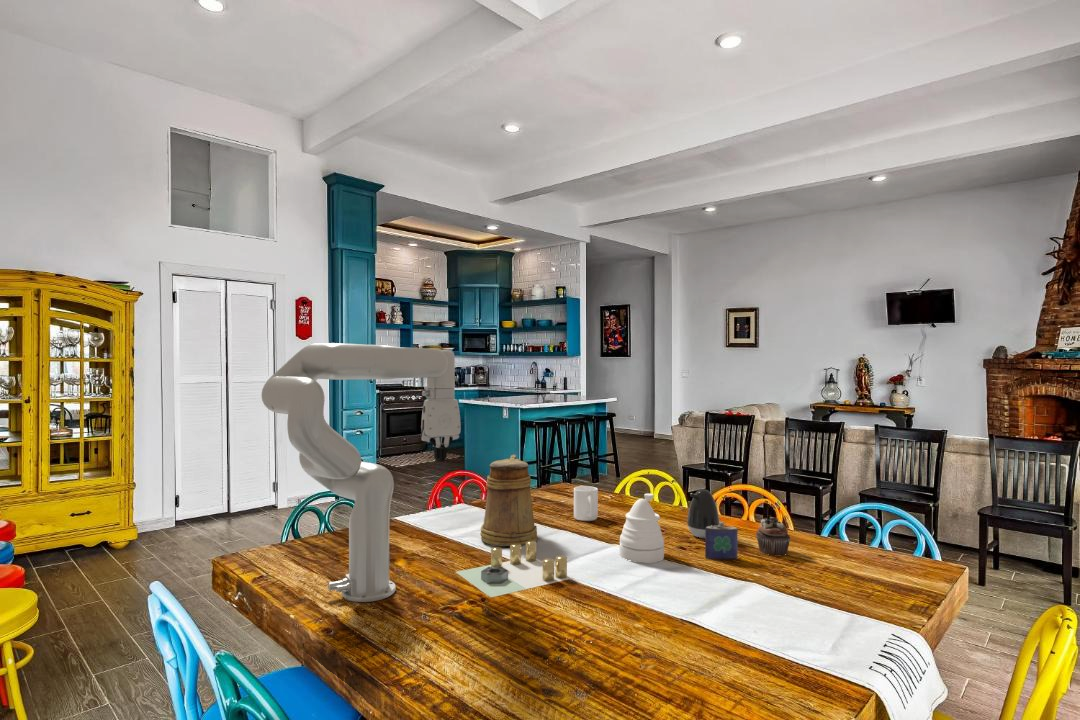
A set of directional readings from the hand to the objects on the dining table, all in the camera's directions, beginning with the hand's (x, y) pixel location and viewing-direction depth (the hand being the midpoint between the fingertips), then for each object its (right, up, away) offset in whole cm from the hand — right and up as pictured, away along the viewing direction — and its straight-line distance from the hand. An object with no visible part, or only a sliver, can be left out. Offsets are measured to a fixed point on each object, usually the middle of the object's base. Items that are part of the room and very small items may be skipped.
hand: (440, 461), depth 167 cm
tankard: (+18, -29, +28) cm, 44 cm away
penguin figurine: (+80, -30, +30) cm, 91 cm away
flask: (+80, -30, +8) cm, 86 cm away
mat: (+20, -29, -8) cm, 37 cm away
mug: (+44, -29, +50) cm, 73 cm away
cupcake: (+97, -30, +15) cm, 103 cm away
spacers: (+24, -29, -6) cm, 38 cm away
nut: (+16, -29, -11) cm, 34 cm away
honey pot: (+57, -30, +11) cm, 65 cm away
